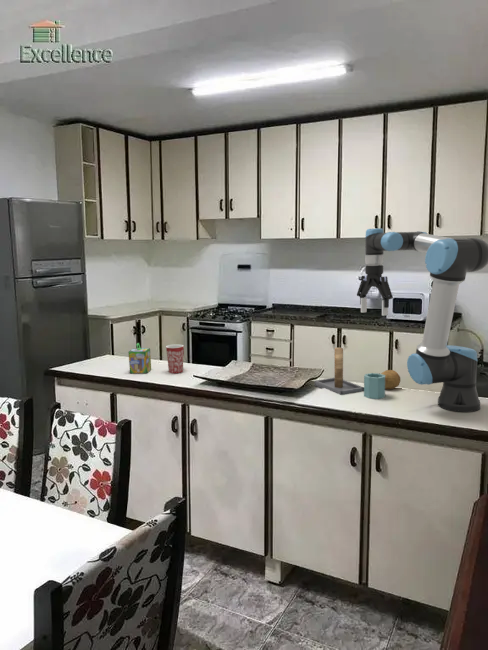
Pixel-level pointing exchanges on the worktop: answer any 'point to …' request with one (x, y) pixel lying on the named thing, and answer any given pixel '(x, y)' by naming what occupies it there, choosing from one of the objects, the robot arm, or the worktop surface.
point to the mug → (175, 358)
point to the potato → (391, 379)
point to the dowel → (338, 367)
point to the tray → (346, 388)
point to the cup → (374, 385)
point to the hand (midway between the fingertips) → (374, 313)
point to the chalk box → (139, 360)
